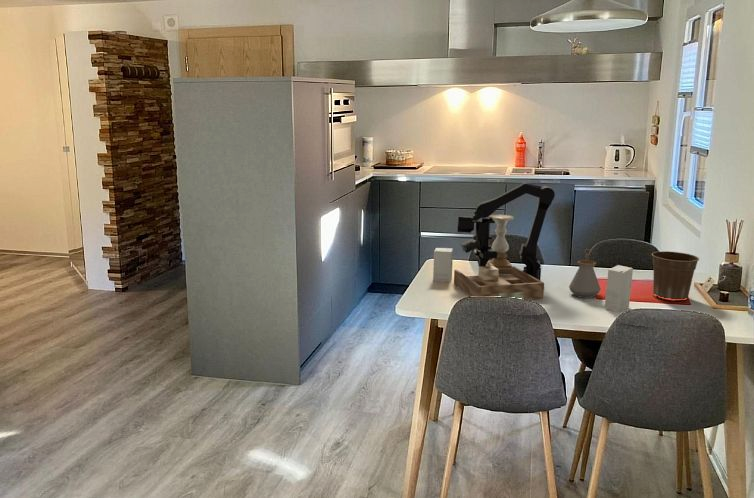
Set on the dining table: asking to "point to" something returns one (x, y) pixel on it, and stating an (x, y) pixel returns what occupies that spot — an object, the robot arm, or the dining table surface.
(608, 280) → the skincare box
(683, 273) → the plant pot
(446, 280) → the supplement box
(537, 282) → the box
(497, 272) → the birch block
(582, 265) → the coffee pot
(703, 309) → the dining table surface
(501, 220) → the candle holder
